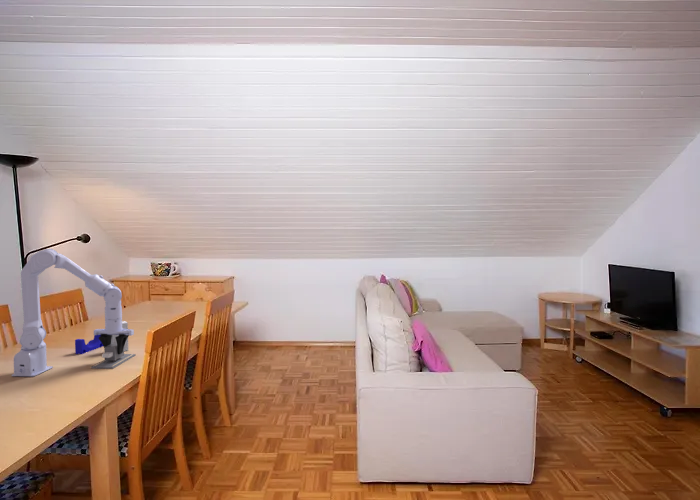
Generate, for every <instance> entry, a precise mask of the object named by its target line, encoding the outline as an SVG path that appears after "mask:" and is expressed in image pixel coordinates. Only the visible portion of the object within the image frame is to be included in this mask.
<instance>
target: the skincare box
mask: <svg viewBox="0 0 700 500" xmlns="http://www.w3.org/2000/svg"><path fill="white" fill-rule="evenodd" d="M128 325H129V322H127V321H125V320H122V328H123V329H129V326H128ZM117 336H119V335H112V339H111V344H112V343H117V341H116V338H115V337H117ZM126 351H129V337H128V338H127V340H126V342H125V345H124V352H126Z"/></svg>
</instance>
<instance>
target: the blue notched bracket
mask: <svg viewBox="0 0 700 500" xmlns="http://www.w3.org/2000/svg"><path fill="white" fill-rule="evenodd" d="M100 336H101V335H94V334H93V339H91V340H89V341H88V342H87V344H86V340H85V339H83V338H76V339H75V340H74V351H75V354H74V355H83V354H86V352H87V353H89V352H92V351H94V350H96V349H100V348H102V347H103V348H104V346H103V344H102V343H101V341H100V340H99V337H100Z"/></svg>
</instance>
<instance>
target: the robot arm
mask: <svg viewBox="0 0 700 500" xmlns="http://www.w3.org/2000/svg"><path fill="white" fill-rule="evenodd" d="M51 267H54V269H64V270H66V271H67V272H69V273H71V274H72V275H74V276H75V277H77V278H78V279H80V280H82V281H83V282H84V285H85V288H87V289H89V290H91V291H92V292H93V293H94V294H97V295H98V296H99V297H103V299H104V301H105V307H104V328H96V329H94V330H93V336H94V335H101V336H100V337H99V340H100V341H101V343H102V344H103V348H104V347H106V346H108V345H110V344H111V339H112V335H119V336H117V337H115V338H116V341H117V350H118V354H121V353H123V348H124V345H125V342H126V340H127V338H128V339H129V336H131V337H132V336H134V335H135V332H134V331H135V330H134V329H133V328H132V329H129V328H128V329H123V328H122V321H123V307H122V297H123V295H122V293H123V292H122V291H121V289H120V288H119V287H118V286H116V285H115V284H114V283H111V282H109V281H107V280H106V279H105V278H104V275H102V274H100V275H99V274H97V273H95V274H91V273H90V272H88V271H87V270H85V269H84V268H82V267H81V266H80V265H79V264H77V263H76V262H74V261H73V260H72V259H70V258H69V257H68V256H66V255H64V254H63V253H60V252H57V250H55V249H53V248H46V249H45V248H44V249H43V250H39V251H37V252H36V253H34V254H33V255H32V256H30V258H29V259H28V261H27V262H26V264H25V265H24V266H23V268H22V270H21V271H20V279H21V280H20V282H21V295H22V298H21V299H22V310H23V324H22V325H23V326H22V333H21V336H20V338H19V344H20V345H21V346H20V350H19V351H18V352H17V353H16V354H14V356H13V374H11V377H36V376H38V375H41V374H43V373H44V372H46V371H48V370H51V369H53V368H54V367H53V366H51V365H49V366H48V365H47V363H48V362H47V361H48V360H47V343H46V342H45V338H47V337H46V336H47V331H46V329H45V327H44V326H43V321H42V315H41V302H40V301H41V300H40V297H41V296H40V281H39V276H40V275H41V274H42V273H43V272H44V271H45V270H46V269H49V268H51Z"/></svg>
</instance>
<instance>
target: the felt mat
mask: <svg viewBox="0 0 700 500" xmlns="http://www.w3.org/2000/svg"><path fill="white" fill-rule="evenodd" d="M135 356H136V353H124V356H122V357H121V358H119V359H117V360H105V359H104V360H102V361H100V362H98V363H96V364H94V365H92V366H90V368H91V369H94V370H95V369H97V370H98V369H99V370H101V369H104V370H105V369H106V370H107V369H108V370H109V369H111V370H113V369H115V368H116V367H119V366H121V365H122V364H123V363H125V362H127V361H129V360H131V359H133V357H135Z"/></svg>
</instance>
